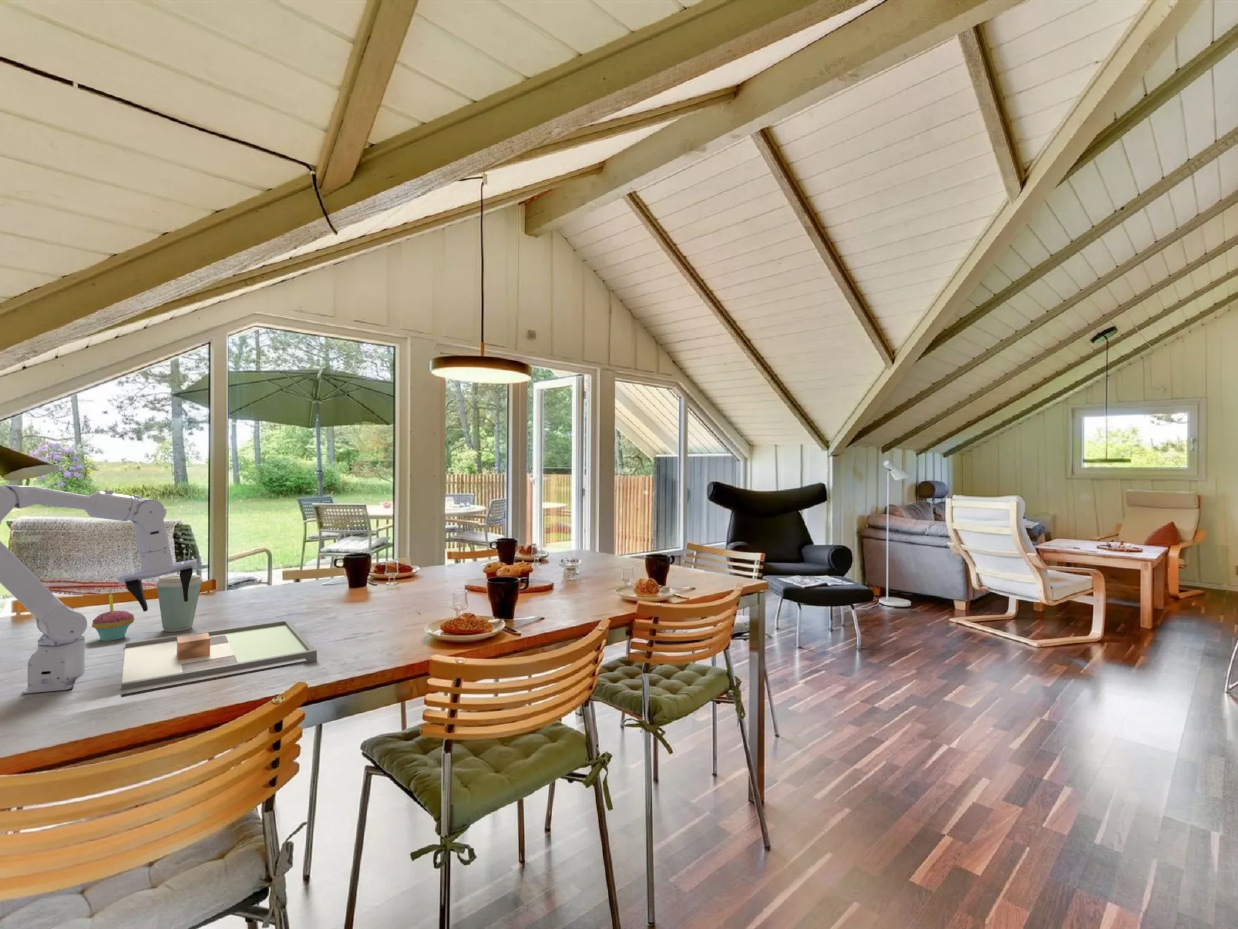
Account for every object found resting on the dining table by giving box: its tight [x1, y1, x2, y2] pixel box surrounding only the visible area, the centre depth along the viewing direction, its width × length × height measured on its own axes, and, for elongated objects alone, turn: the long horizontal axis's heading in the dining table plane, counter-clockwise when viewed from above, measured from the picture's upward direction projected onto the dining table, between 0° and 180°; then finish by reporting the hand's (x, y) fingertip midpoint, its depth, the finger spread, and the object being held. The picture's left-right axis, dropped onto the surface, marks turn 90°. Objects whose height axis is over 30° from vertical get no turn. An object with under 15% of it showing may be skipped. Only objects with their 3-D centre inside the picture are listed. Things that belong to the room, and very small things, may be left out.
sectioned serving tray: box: [120, 619, 318, 698], centre depth 141 cm, size 35×34×2 cm
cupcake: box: [91, 591, 135, 642], centre depth 155 cm, size 9×8×12 cm
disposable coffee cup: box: [155, 574, 204, 633], centre depth 164 cm, size 11×11×15 cm
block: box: [177, 633, 211, 661], centre depth 138 cm, size 6×6×4 cm
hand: (166, 605), depth 138 cm, fingers open, 7 cm apart
